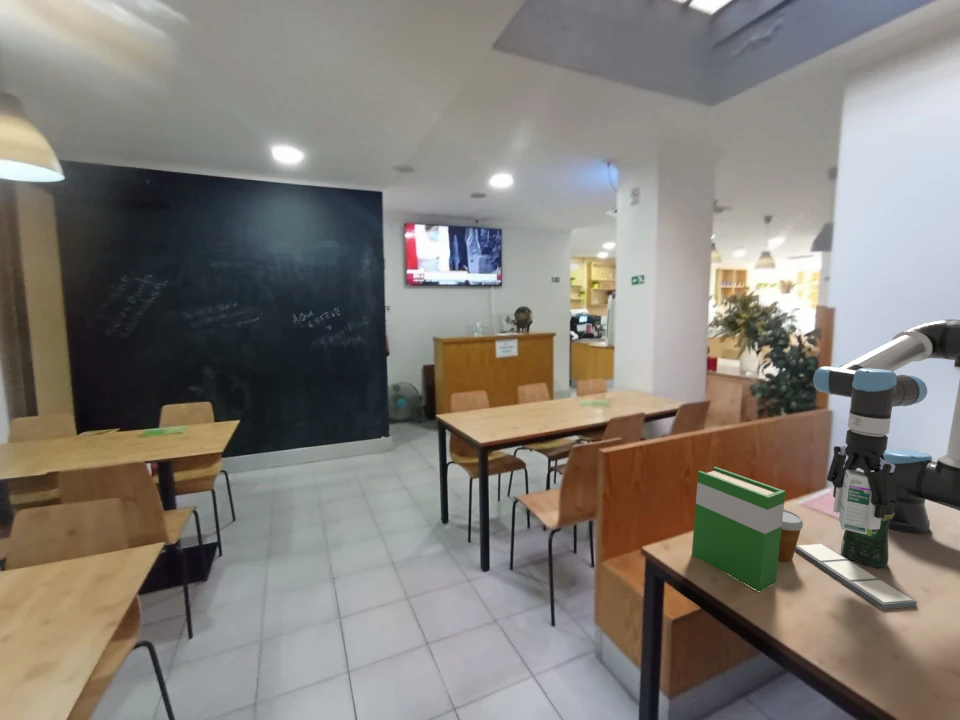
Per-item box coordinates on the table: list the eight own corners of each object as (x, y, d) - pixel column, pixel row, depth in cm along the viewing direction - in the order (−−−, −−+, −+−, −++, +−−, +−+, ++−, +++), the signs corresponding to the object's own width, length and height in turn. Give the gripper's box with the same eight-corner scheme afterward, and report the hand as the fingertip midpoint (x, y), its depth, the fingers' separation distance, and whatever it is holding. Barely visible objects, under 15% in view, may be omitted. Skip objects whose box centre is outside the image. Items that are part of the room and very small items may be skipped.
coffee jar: (888, 560, 116) (897, 495, 114) (885, 572, 111) (895, 504, 108) (842, 545, 123) (850, 484, 121) (837, 556, 118) (845, 492, 115)
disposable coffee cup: (759, 560, 116) (763, 518, 114) (755, 543, 124) (759, 503, 123) (802, 570, 112) (807, 527, 110) (796, 552, 120) (800, 511, 118)
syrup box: (841, 529, 107) (848, 474, 105) (837, 519, 112) (844, 466, 110) (871, 536, 104) (879, 479, 102) (866, 526, 109) (874, 471, 107)
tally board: (821, 547, 122) (822, 543, 122) (916, 606, 99) (917, 600, 98) (793, 549, 121) (793, 544, 121) (882, 609, 97) (882, 603, 97)
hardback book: (691, 554, 118) (698, 471, 115) (708, 547, 122) (715, 466, 119) (758, 592, 103) (768, 497, 100) (775, 583, 106) (785, 491, 103)
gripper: (815, 420, 115) (806, 501, 118) (899, 446, 94) (885, 543, 97) (840, 420, 116) (830, 500, 118) (929, 445, 95) (914, 541, 98)
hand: (855, 519), depth 108 cm, fingers closed on syrup box, 8 cm apart
